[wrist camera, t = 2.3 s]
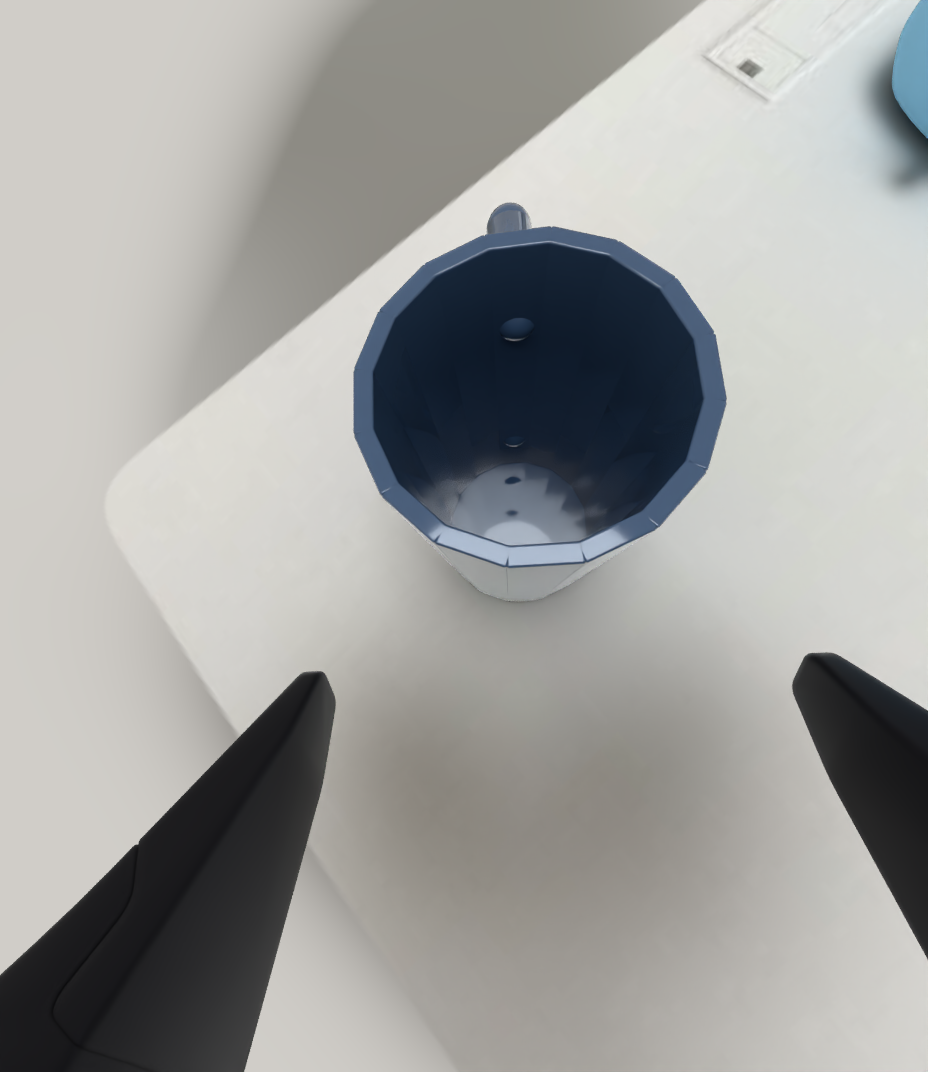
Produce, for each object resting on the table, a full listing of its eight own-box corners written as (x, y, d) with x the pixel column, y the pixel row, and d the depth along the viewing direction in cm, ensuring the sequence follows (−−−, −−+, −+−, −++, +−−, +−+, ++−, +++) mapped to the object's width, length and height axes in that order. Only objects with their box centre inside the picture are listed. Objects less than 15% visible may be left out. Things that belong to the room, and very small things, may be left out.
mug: (599, 597, 20) (755, 553, 7) (449, 605, 21) (352, 577, 8) (577, 392, 22) (670, 78, 9) (440, 405, 23) (353, 125, 10)
